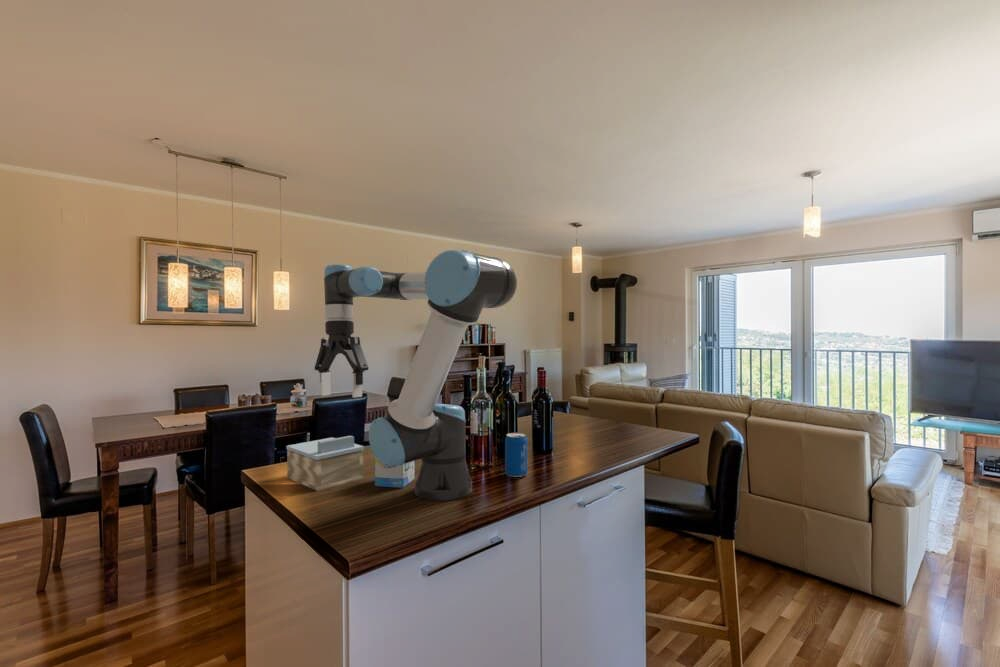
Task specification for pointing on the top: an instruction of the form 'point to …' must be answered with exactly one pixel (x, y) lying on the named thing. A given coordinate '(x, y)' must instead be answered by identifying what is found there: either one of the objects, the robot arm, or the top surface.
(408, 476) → the ink box
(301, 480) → the open wooden box
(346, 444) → the lid
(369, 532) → the top surface
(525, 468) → the beverage can
